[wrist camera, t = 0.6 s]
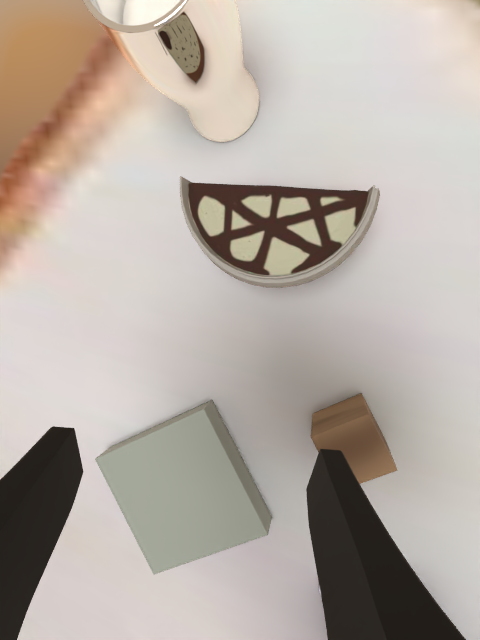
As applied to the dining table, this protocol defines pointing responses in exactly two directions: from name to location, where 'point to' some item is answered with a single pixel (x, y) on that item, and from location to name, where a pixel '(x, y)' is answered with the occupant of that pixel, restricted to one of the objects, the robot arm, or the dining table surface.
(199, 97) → the beer glass
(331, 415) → the walnut block
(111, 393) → the dining table surface
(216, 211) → the food container
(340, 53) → the dining table surface
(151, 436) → the grey platform
